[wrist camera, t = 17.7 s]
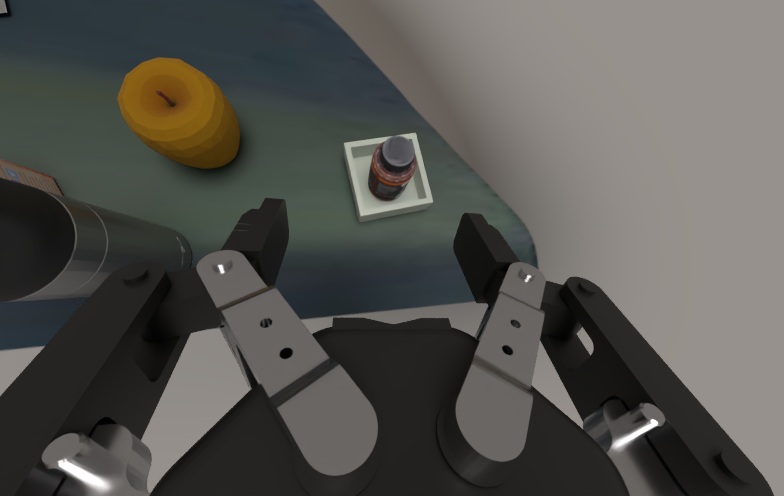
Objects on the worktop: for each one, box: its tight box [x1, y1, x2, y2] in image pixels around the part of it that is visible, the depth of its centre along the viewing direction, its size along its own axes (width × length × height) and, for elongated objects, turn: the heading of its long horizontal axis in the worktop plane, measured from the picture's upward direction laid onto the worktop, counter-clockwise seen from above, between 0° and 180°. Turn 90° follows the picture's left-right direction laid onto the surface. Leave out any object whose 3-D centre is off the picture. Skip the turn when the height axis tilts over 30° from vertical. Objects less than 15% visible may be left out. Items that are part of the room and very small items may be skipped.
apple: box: [117, 57, 240, 169], centre depth 35 cm, size 11×11×13 cm
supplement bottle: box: [368, 136, 417, 201], centre depth 39 cm, size 6×6×11 cm
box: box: [344, 133, 433, 223], centre depth 43 cm, size 11×11×4 cm
